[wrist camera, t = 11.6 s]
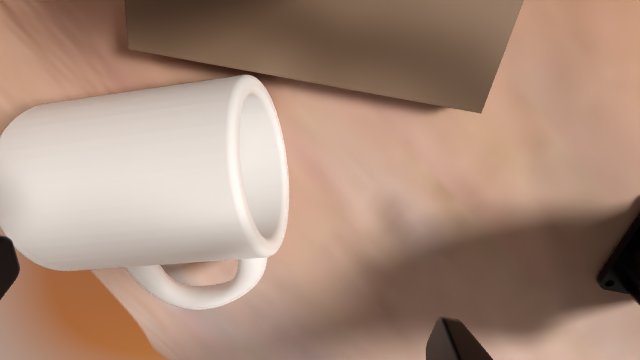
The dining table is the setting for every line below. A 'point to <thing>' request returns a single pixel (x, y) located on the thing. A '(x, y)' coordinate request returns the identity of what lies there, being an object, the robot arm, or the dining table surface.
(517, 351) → the dining table surface
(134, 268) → the mug
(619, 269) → the robot arm
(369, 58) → the walnut board
